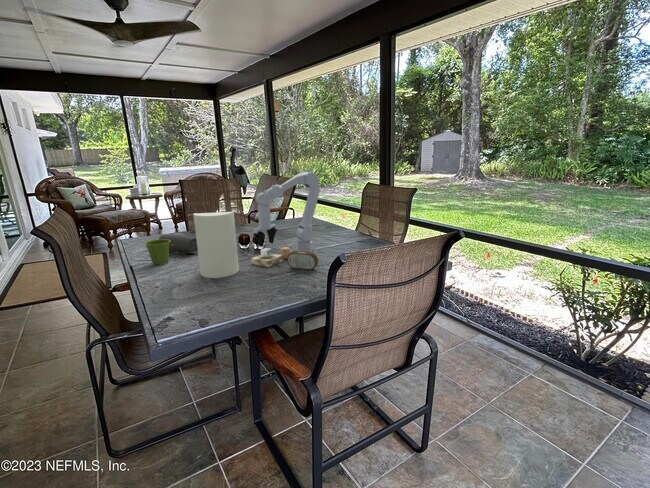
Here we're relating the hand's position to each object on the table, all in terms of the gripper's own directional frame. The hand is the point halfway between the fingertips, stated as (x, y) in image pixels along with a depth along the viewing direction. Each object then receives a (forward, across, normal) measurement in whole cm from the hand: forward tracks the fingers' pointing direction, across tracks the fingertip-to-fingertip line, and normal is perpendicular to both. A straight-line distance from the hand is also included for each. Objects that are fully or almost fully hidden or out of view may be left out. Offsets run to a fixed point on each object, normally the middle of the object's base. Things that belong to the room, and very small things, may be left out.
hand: (266, 244), depth 167 cm
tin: (+10, -1, +21) cm, 23 cm away
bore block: (+9, 0, 0) cm, 9 cm away
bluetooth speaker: (+10, +10, -56) cm, 58 cm away
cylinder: (+10, +21, -11) cm, 26 cm away
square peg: (+9, 0, 0) cm, 9 cm away
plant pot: (+10, +27, -48) cm, 56 cm away
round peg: (+9, -11, +3) cm, 15 cm away
